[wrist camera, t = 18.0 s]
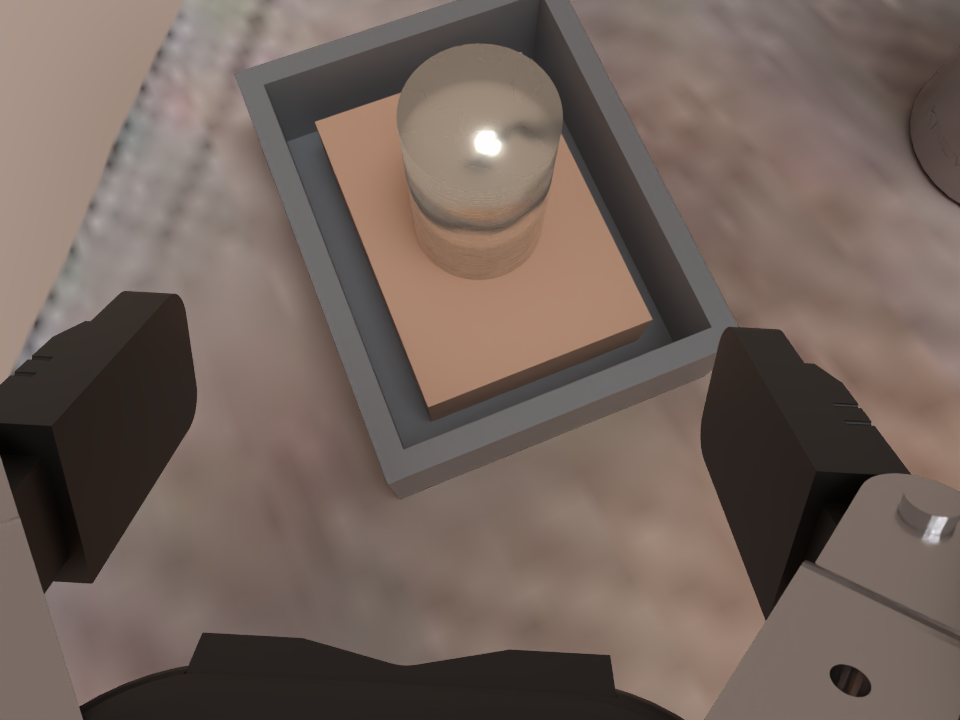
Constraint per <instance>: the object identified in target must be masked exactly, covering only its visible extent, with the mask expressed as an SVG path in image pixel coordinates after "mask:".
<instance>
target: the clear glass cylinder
mask: <svg viewBox="0 0 960 720" xmlns="http://www.w3.org/2000/svg"><path fill="white" fill-rule="evenodd" d="M562 124H563V111H562V104H561V100H560V97H559V94H558V91H557V89H556V87H555V85H554V83H553V82H552V80H551V79H550V77H549V76H548V75H547V74H546V72H545V71H544V70H543V69H542V68H541V67H540V66H539V65H538V64H537V63H535V62H534V61H533V60H531V59H530V58H528V57H527V56H525V55H523V54H521V53H519V52H517V51H515V50H512V49H510V48H507V47H503V46H499V45H493V44H480V43H476V44H465V45H460V46H456V47H452V48H449V49H446V50H444V51H442V52H440V53H437V54H436V55H434V56H432V57H431V58H429V59H428V60H426V61H425V62H424V63H422V64H421V65H420V66H419V67H418V68H417V69H416V70H415V71H414V72H413V73H412V75H411V76H410V77H409V79H408V80H407V82H406V84H405V86H404V87H403V89H402V92H401V95H400V97H399V101H398V106H397V128H398V134H399V139H400V145H401V151H402V157H403V163H404V168H405V174H406V180H407V186H408V191H409V197H410V203H411V209H412V214H413V220H414V226H415V231H416V236H417V239H418V241H419V244H420V246H421V248H422V249H423V251H424V253H425V254H426V255H427V257H428V258H429V259H430V260H431V261H432V262H433V263H434V264H435V265H437V266H438V267H439V268H441V269H442V270H444V271H446V272H447V273H449V274H452V275H454V276H457V277H460V278H464V279H470V280H487V279H493V278H497V277H500V276H503V275H506V274H508V273H510V272H512V271H514V270H515V269H517V268H518V267H520V266H521V265H522V264H523V263H524V262H525V261H526V260H527V259H528V258H529V257H530V256H531V254H532V253H533V251H534V250H535V248H536V246H537V244H538V242H539V239H540V236H541V232H542V226H543V221H544V216H545V211H546V206H547V201H548V196H549V191H550V186H551V181H552V176H553V171H554V166H555V161H556V156H557V151H558V146H559V141H560V136H561V131H562Z"/></svg>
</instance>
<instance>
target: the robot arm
mask: <svg viewBox="0 0 960 720" xmlns="http://www.w3.org/2000/svg"><path fill="white" fill-rule="evenodd" d="M910 133H911V138H912V143H913V147H914V151H915V153H916V155H917V157H918V159H919V161H920V163H921V165H922V167H923V169H924V170H925V172H926V173H927V174H928V176H929V177H930V178H931V179H932V181H933V182H934V183H935V184H936V185H937V186H938V187H939V188H940V189H941V190H942V191H943V192H944V193H946V194H947V195H948V196H949V197H950V198H952V199H953V200H955V201H956V202H958V203H960V47H959V48H958V49H957V51H956V52H955V53H954V54H953V55H952V56H951V57H950V58H949V59H948V60H947V61H946V63H945V64H944V65H943V66H942V67H941V68H940V69H939V70H938V71H937V72H936V74H935V75H934V76H933V77H932V78H931V79H930V80H929V81H928V82H927V83H926V84H925V86H924V87H923V88H922V89H921V91H920V93H919V94H918V96H917V98H916V100H915V102H914V105H913V109H912V113H911V117H910ZM196 402H197V387H196V379H195V372H194V365H193V359H192V352H191V345H190V338H189V331H188V324H187V317H186V311H185V307H184V304H183V301H182V299H181V298H180V297H179V296H178V295H177V294H168V293H150V292H133V291H124V292H122V293H120V294H119V295H118V296H117V297H116V298H115V299H114V300H113V301H112V302H111V303H110V304H108V305H107V306H106V307H105V308H104V309H103V310H102V311H101V312H100V313H99V314H98V315H97V316H96V317H95V318H94V319H93V320H92V321H85V322H83V323H81V324H79V325H76V326H74V327H72V328H70V329H68V330H66V331H64V332H62V333H60V334H58V335H56V336H54V337H52V338H51V339H50V340H49V341H48V342H47V343H46V344H45V345H43V346H42V347H41V348H40V349H39V350H38V351H37V352H36V353H35V354H34V355H32V360H27V361H26V362H25V363H24V364H23V365H21V366H20V367H19V368H18V369H17V370H16V371H15V376H9V377H8V378H7V379H6V380H5V381H4V382H3V383H2V384H1V385H0V720H684V719H682V718H681V717H679V716H678V715H676V714H674V713H672V712H670V711H668V710H667V709H665V708H663V707H661V706H659V705H657V704H655V703H653V702H651V701H648V700H646V699H643V698H641V697H638V696H636V695H633V694H631V693H627V692H624V691H621V690H618V689H615V685H614V679H613V672H612V665H611V659H610V655H596V654H578V653H560V652H542V651H524V650H505V651H499V652H493V653H487V654H481V655H474V656H468V657H462V658H456V659H450V660H444V661H438V662H431V663H425V664H419V665H411V666H401V665H395V664H391V663H388V662H384V661H381V660H377V659H374V658H370V657H367V656H363V655H360V654H356V653H353V652H349V651H346V650H342V649H339V648H335V647H332V646H328V645H325V644H321V643H318V642H314V641H311V640H307V639H304V638H289V637H271V636H253V635H235V634H217V633H202V635H201V638H200V640H199V642H198V645H197V647H196V650H195V652H194V654H193V657H192V659H191V661H190V664H189V666H185V667H179V668H174V669H170V670H166V671H162V672H159V673H155V674H151V675H148V676H145V677H142V678H140V679H137V680H134V681H131V682H128V683H126V684H123V685H121V686H119V687H117V688H115V689H112V690H110V691H108V692H106V693H104V694H102V695H99V696H98V697H96V698H94V699H92V700H91V701H89V702H87V703H85V704H83V705H82V706H80V707H79V705H78V702H77V699H76V695H75V692H74V689H73V686H72V683H71V679H70V676H69V673H68V670H67V667H66V663H65V660H64V657H63V654H62V651H61V647H60V644H59V641H58V638H57V635H56V631H55V628H54V625H53V622H52V619H51V615H50V612H49V609H48V606H47V603H46V599H45V596H44V594H45V592H46V591H47V589H48V588H49V586H50V585H51V583H52V582H53V581H56V582H74V583H93V582H94V580H95V578H96V577H97V575H98V574H99V572H100V570H101V569H102V567H103V566H104V564H105V562H106V561H107V559H108V558H109V556H110V554H111V553H112V551H113V550H114V548H115V546H116V545H117V543H118V542H119V540H120V538H121V537H122V535H123V534H124V532H125V530H126V529H127V527H128V526H129V524H130V522H131V521H132V519H133V518H134V516H135V514H136V513H137V511H138V510H139V508H140V507H141V505H142V503H143V502H144V500H145V499H146V497H147V495H148V494H149V492H150V491H151V489H152V487H153V486H154V484H155V483H156V481H157V479H158V478H159V476H160V475H161V473H162V471H163V470H164V468H165V467H166V465H167V463H168V462H169V460H170V459H171V457H172V455H173V454H174V452H175V451H176V449H177V447H178V446H179V444H180V443H181V441H182V439H183V438H184V436H185V435H186V433H187V431H188V430H189V428H190V426H191V424H192V421H193V418H194V415H195V410H196ZM701 449H702V454H703V458H704V461H705V463H706V466H707V468H708V471H709V474H710V476H711V479H712V482H713V484H714V487H715V489H716V492H717V495H718V497H719V500H720V502H721V505H722V508H723V510H724V513H725V515H726V518H727V521H728V523H729V526H730V529H731V531H732V534H733V536H734V539H735V542H736V544H737V547H738V549H739V552H740V555H741V557H742V560H743V563H744V565H745V568H746V570H747V573H748V576H749V578H750V581H751V583H752V586H753V589H754V591H755V594H756V596H757V599H758V602H759V604H760V607H761V610H762V612H763V615H764V617H765V620H766V622H765V623H764V625H763V627H762V628H761V630H760V631H759V633H758V635H757V636H756V638H755V639H754V641H753V643H752V644H751V646H750V647H749V649H748V650H747V652H746V654H745V655H744V657H743V658H742V660H741V662H740V663H739V665H738V666H737V668H736V670H735V671H734V673H733V674H732V676H731V678H730V679H729V681H728V682H727V684H726V686H725V687H724V689H723V690H722V692H721V694H720V695H719V697H718V698H717V700H716V702H715V703H714V705H713V706H712V708H711V710H710V711H709V713H708V714H707V716H706V718H705V719H704V720H960V492H959V491H958V490H956V489H954V488H952V487H949V486H947V485H945V484H942V483H940V482H937V481H934V480H931V479H927V478H924V477H920V476H915V475H911V474H910V472H909V471H908V470H907V468H906V467H905V466H904V464H903V463H902V462H901V460H900V459H899V458H898V456H897V455H896V454H895V452H894V451H893V450H892V448H891V447H890V446H889V444H888V443H887V442H886V440H885V439H884V438H883V436H882V435H881V434H880V432H879V431H878V430H877V428H876V427H875V426H871V420H870V419H869V418H868V416H867V415H866V414H865V412H864V411H863V410H862V408H858V403H857V402H856V401H855V399H854V398H853V397H852V395H851V394H850V393H849V391H848V390H847V389H846V387H845V386H844V385H843V383H842V382H840V381H839V380H837V379H836V378H834V377H833V376H831V375H830V374H828V373H827V372H825V371H824V370H823V369H821V368H820V367H818V366H817V365H815V364H807V363H804V362H803V361H802V359H801V358H800V356H799V355H798V353H797V352H796V351H795V349H794V348H793V346H792V345H791V343H790V342H789V341H788V339H787V338H786V336H785V335H784V333H783V332H782V331H781V330H778V329H761V328H743V327H727V328H726V329H725V330H724V331H723V333H722V335H721V338H720V341H719V345H718V349H717V354H716V358H715V362H714V367H713V371H712V376H711V380H710V384H709V389H708V393H707V398H706V402H705V406H704V411H703V416H702V422H701Z"/></svg>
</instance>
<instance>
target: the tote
mask: <svg viewBox="0 0 960 720" xmlns="http://www.w3.org/2000/svg"><path fill="white" fill-rule="evenodd" d="M476 43H480V44H493V45H499V46H503V47H507V48H510V49H512V50H515V51H517V52H522V54H523V55H525V56H527V57H528V58H530V59H531V60H533V61H534V62H535V63H537V64H538V65H539V66H540V67H541V68H542V69H543V70H544V71H545V72H546V74H547V75H548V76H549V77H550V79H551V80H552V82H553V83H554V85H555V87H556V89H557V91H558V94H559V97H560V100H561V104H562V111H563V124H562V131H561V134H562V136H563V138H564V140H565V142H566V144H567V146H568V148H569V150H570V152H571V154H572V156H573V158H574V160H575V162H576V164H577V166H578V168H579V170H580V172H581V175H582V177H583V179H584V181H585V183H586V185H587V187H588V189H589V191H590V193H591V195H592V197H593V199H594V201H595V203H596V205H597V207H598V209H599V211H600V213H601V215H602V217H603V219H604V221H605V223H606V226H607V228H608V230H609V232H610V234H611V236H612V238H613V240H614V242H615V244H616V246H617V248H618V250H619V252H620V254H621V256H622V258H623V260H624V262H625V264H626V266H627V268H628V270H629V272H630V274H631V276H632V279H633V281H634V283H635V285H636V287H637V289H638V291H639V293H640V295H641V297H642V299H643V301H644V303H645V305H646V307H647V309H648V311H649V313H650V315H651V317H652V319H653V320H652V321H651V322H650V324H649V325H648V327H647V328H646V329H645V331H644V332H643V334H642V335H641V336H640V338H639V339H638V341H636V342H633V343H630V344H628V345H625V346H623V347H620V348H618V349H615V350H613V351H610V352H608V353H605V354H603V355H600V356H597V357H595V358H592V359H590V360H587V361H585V362H582V363H580V364H577V365H575V366H572V367H570V368H567V369H565V370H562V371H559V372H557V373H554V374H552V375H549V376H547V377H544V378H542V379H539V380H537V381H534V382H532V383H529V384H526V385H524V386H521V387H519V388H516V389H514V390H511V391H509V392H506V393H504V394H501V395H499V396H496V397H494V398H491V399H488V400H486V401H483V402H481V403H478V404H476V405H473V406H471V407H468V408H466V409H463V410H461V411H458V412H455V413H453V414H450V415H448V416H445V417H443V418H440V419H438V420H435V421H433V422H431V420H430V417H429V415H428V412H427V410H426V407H425V405H424V402H423V400H422V397H421V395H420V392H419V389H418V387H417V384H416V382H415V379H414V377H413V374H412V372H411V369H410V367H409V364H408V362H407V359H406V357H405V354H404V352H403V349H402V347H401V344H400V342H399V339H398V336H397V334H396V331H395V329H394V326H393V324H392V321H391V319H390V316H389V314H388V311H387V309H386V306H385V304H384V301H383V299H382V296H381V294H380V291H379V289H378V286H377V284H376V281H375V278H374V276H373V273H372V271H371V268H370V266H369V263H368V261H367V258H366V256H365V253H364V251H363V248H362V246H361V243H360V241H359V238H358V236H357V233H356V231H355V228H354V226H353V223H352V220H351V218H350V215H349V213H348V210H347V208H346V205H345V203H344V200H343V198H342V195H341V193H340V190H339V188H338V185H337V183H336V180H335V178H334V175H333V173H332V170H331V168H330V165H329V162H328V160H327V157H326V154H325V151H324V148H323V145H322V142H321V139H320V136H319V133H318V130H317V127H316V124H315V122H316V121H319V120H322V119H325V118H328V117H331V116H334V115H336V114H339V113H342V112H345V111H348V110H351V109H354V108H357V107H360V106H363V105H366V104H369V103H372V102H375V101H378V100H381V99H384V98H387V97H390V96H393V95H395V94H398V93H401V92H402V89H403V87H404V86H405V84H406V82H407V80H408V79H409V77H410V76H411V75H412V73H413V72H414V71H415V70H416V69H417V68H418V67H419V66H420V65H421V64H422V63H424V62H425V61H426V60H428V59H429V58H431V57H432V56H434V55H436V54H437V53H440V52H442V51H444V50H446V49H449V48H452V47H456V46H460V45H465V44H476ZM234 74H235V77H236V79H237V82H238V85H239V87H240V90H241V93H242V96H243V98H244V101H245V104H246V106H247V109H248V112H249V114H250V117H251V120H252V122H253V125H254V128H255V130H256V133H257V136H258V138H259V141H260V144H261V146H262V149H263V152H264V154H265V157H266V160H267V163H268V165H269V168H270V171H271V173H272V176H273V179H274V181H275V184H276V187H277V189H278V192H279V195H280V197H281V200H282V203H283V205H284V208H285V211H286V213H287V216H288V219H289V221H290V224H291V227H292V230H293V232H294V235H295V238H296V240H297V243H298V246H299V248H300V251H301V254H302V256H303V259H304V262H305V264H306V267H307V270H308V272H309V275H310V278H311V280H312V283H313V286H314V289H315V291H316V294H317V297H318V299H319V302H320V305H321V307H322V310H323V313H324V315H325V318H326V321H327V323H328V326H329V329H330V331H331V334H332V337H333V339H334V342H335V345H336V347H337V350H338V353H339V356H340V358H341V361H342V364H343V366H344V369H345V372H346V374H347V377H348V380H349V382H350V385H351V388H352V390H353V393H354V396H355V398H356V401H357V404H358V406H359V409H360V412H361V414H362V417H363V420H364V423H365V425H366V428H367V431H368V433H369V436H370V439H371V441H372V444H373V447H374V449H375V452H376V455H377V457H378V460H379V463H380V465H381V468H382V471H383V473H384V476H385V479H386V482H387V484H388V486H389V487H390V488H391V489H392V490H393V492H394V493H395V494H396V495H397V497H398V498H399V499H402V498H404V497H407V496H409V495H412V494H414V493H417V492H419V491H422V490H424V489H427V488H429V487H432V486H434V485H436V484H439V483H441V482H444V481H446V480H449V479H451V478H454V477H456V476H459V475H461V474H464V473H466V472H469V471H471V470H474V469H476V468H479V467H481V466H483V465H486V464H488V463H491V462H493V461H496V460H498V459H501V458H503V457H506V456H508V455H511V454H513V453H516V452H518V451H521V450H523V449H525V448H528V447H530V446H533V445H535V444H538V443H540V442H543V441H545V440H548V439H550V438H553V437H555V436H558V435H560V434H563V433H565V432H567V431H570V430H572V429H575V428H577V427H580V426H582V425H585V424H587V423H590V422H592V421H595V420H597V419H600V418H602V417H605V416H607V415H610V414H612V413H614V412H617V411H619V410H622V409H624V408H627V407H629V406H632V405H634V404H637V403H639V402H642V401H644V400H647V399H649V398H652V397H654V396H656V395H659V394H661V393H664V392H666V391H669V390H671V389H674V388H676V387H679V386H681V385H684V384H686V383H689V382H691V381H694V380H696V379H698V378H701V377H703V376H705V375H706V374H708V373H709V372H710V371H711V370H712V369H713V367H714V362H715V358H716V354H717V349H718V345H719V341H720V338H721V335H722V333H723V331H724V330H725V329H726V328H727V327H739V326H738V324H737V323H736V321H735V319H734V317H733V315H732V313H731V311H730V309H729V307H728V305H727V303H726V301H725V299H724V297H723V296H722V294H721V292H720V290H719V288H718V286H717V284H716V282H715V280H714V278H713V276H712V274H711V272H710V271H709V269H708V267H707V265H706V263H705V261H704V259H703V257H702V255H701V253H700V251H699V249H698V247H697V246H696V244H695V242H694V240H693V238H692V236H691V234H690V232H689V230H688V228H687V226H686V224H685V222H684V221H683V219H682V217H681V215H680V213H679V211H678V209H677V207H676V205H675V203H674V201H673V199H672V197H671V196H670V194H669V192H668V190H667V188H666V186H665V184H664V182H663V180H662V178H661V176H660V174H659V172H658V170H657V169H656V167H655V165H654V163H653V161H652V159H651V157H650V155H649V153H648V151H647V149H646V147H645V145H644V144H643V142H642V140H641V138H640V136H639V134H638V132H637V130H636V128H635V126H634V124H633V122H632V120H631V119H630V117H629V115H628V113H627V111H626V109H625V107H624V105H623V103H622V101H621V99H620V97H619V95H618V94H617V92H616V90H615V88H614V86H613V84H612V82H611V80H610V78H609V76H608V74H607V72H606V70H605V69H604V67H603V65H602V63H601V61H600V59H599V57H598V55H597V53H596V51H595V49H594V47H593V45H592V44H591V42H590V40H589V38H588V36H587V34H586V32H585V30H584V28H583V26H582V24H581V22H580V20H579V18H578V17H577V15H576V13H575V11H574V9H573V7H572V5H571V3H570V1H569V0H457V1H454V2H451V3H448V4H445V5H442V6H439V7H436V8H432V9H429V10H426V11H423V12H420V13H417V14H414V15H411V16H408V17H405V18H402V19H399V20H396V21H393V22H390V23H387V24H384V25H380V26H377V27H374V28H371V29H368V30H365V31H362V32H359V33H356V34H353V35H350V36H347V37H344V38H341V39H338V40H335V41H332V42H329V43H325V44H322V45H319V46H316V47H313V48H310V49H307V50H304V51H301V52H298V53H295V54H292V55H289V56H286V57H283V58H280V59H277V60H273V61H270V62H267V63H264V64H261V65H258V66H255V67H252V68H249V69H246V70H243V71H240V72H237V73H234Z"/></svg>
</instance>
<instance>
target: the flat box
mask: <svg viewBox="0 0 960 720" xmlns="http://www.w3.org/2000/svg"><path fill="white" fill-rule="evenodd" d="M519 53H521V54H522V52H519ZM400 95H401V93H398V94H395V95H393V96H390V97H387V98H384V99H381V100H378V101H375V102H372V103H369V104H366V105H363V106H360V107H357V108H354V109H351V110H348V111H345V112H342V113H339V114H336V115H334V116H331V117H328V118H325V119H322V120H319V121H316V122H315V124H316V127H317V130H318V133H319V136H320V139H321V142H322V145H323V148H324V151H325V154H326V157H327V160H328V162H329V165H330V168H331V170H332V173H333V175H334V178H335V180H336V183H337V185H338V188H339V190H340V193H341V195H342V198H343V200H344V203H345V205H346V208H347V210H348V213H349V215H350V218H351V220H352V223H353V226H354V228H355V231H356V233H357V236H358V238H359V241H360V243H361V246H362V248H363V251H364V253H365V256H366V258H367V261H368V263H369V266H370V268H371V271H372V273H373V276H374V278H375V281H376V284H377V286H378V289H379V291H380V294H381V296H382V299H383V301H384V304H385V306H386V309H387V311H388V314H389V316H390V319H391V321H392V324H393V326H394V329H395V331H396V334H397V336H398V339H399V342H400V344H401V347H402V349H403V352H404V354H405V357H406V359H407V362H408V364H409V367H410V369H411V372H412V374H413V377H414V379H415V382H416V384H417V387H418V389H419V392H420V395H421V397H422V400H423V402H424V405H425V407H426V410H427V412H428V415H429V417H430V420H431V422H433V421H435V420H438V419H440V418H443V417H445V416H448V415H450V414H453V413H455V412H458V411H461V410H463V409H466V408H468V407H471V406H473V405H476V404H478V403H481V402H483V401H486V400H488V399H491V398H494V397H496V396H499V395H501V394H504V393H506V392H509V391H511V390H514V389H516V388H519V387H521V386H524V385H526V384H529V383H532V382H534V381H537V380H539V379H542V378H544V377H547V376H549V375H552V374H554V373H557V372H559V371H562V370H565V369H567V368H570V367H572V366H575V365H577V364H580V363H582V362H585V361H587V360H590V359H592V358H595V357H597V356H600V355H603V354H605V353H608V352H610V351H613V350H615V349H618V348H620V347H623V346H625V345H628V344H630V343H633V342H636V341H638V339H639V338H640V336H641V335H642V334H643V332H644V331H645V329H646V328H647V327H648V325H649V324H650V322H651V321H652V320H653V319H652V317H651V315H650V313H649V311H648V309H647V307H646V305H645V303H644V301H643V299H642V297H641V295H640V293H639V291H638V289H637V287H636V285H635V283H634V281H633V279H632V276H631V274H630V272H629V270H628V268H627V266H626V264H625V262H624V260H623V258H622V256H621V254H620V252H619V250H618V248H617V246H616V244H615V242H614V240H613V238H612V236H611V234H610V232H609V230H608V228H607V226H606V223H605V221H604V219H603V217H602V215H601V213H600V211H599V209H598V207H597V205H596V203H595V201H594V199H593V197H592V195H591V193H590V191H589V189H588V187H587V185H586V183H585V181H584V179H583V177H582V175H581V172H580V170H579V168H578V166H577V164H576V162H575V160H574V158H573V156H572V154H571V152H570V150H569V148H568V146H567V144H566V142H565V140H564V138H563V136H562V134H561V136H560V141H559V146H558V151H557V156H556V161H555V166H554V171H553V176H552V181H551V186H550V191H549V196H548V201H547V206H546V211H545V216H544V221H543V226H542V232H541V236H540V239H539V242H538V244H537V246H536V248H535V250H534V251H533V253H532V254H531V256H530V257H529V258H528V259H527V260H526V261H525V262H524V263H523V264H522V265H521V266H520V267H518V268H517V269H515V270H514V271H512V272H510V273H508V274H506V275H503V276H500V277H497V278H493V279H487V280H470V279H464V278H460V277H457V276H454V275H452V274H449V273H447V272H446V271H444V270H442V269H441V268H439V267H438V266H437V265H435V264H434V263H433V262H432V261H431V260H430V259H429V258H428V257H427V255H426V254H425V253H424V251H423V249H422V248H421V246H420V244H419V241H418V239H417V236H416V231H415V226H414V220H413V214H412V209H411V203H410V197H409V191H408V186H407V180H406V174H405V168H404V163H403V157H402V151H401V145H400V139H399V134H398V128H397V106H398V101H399V97H400Z"/></svg>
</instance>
